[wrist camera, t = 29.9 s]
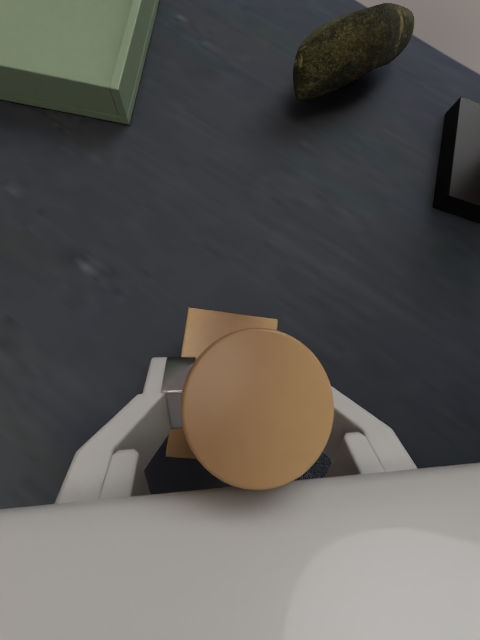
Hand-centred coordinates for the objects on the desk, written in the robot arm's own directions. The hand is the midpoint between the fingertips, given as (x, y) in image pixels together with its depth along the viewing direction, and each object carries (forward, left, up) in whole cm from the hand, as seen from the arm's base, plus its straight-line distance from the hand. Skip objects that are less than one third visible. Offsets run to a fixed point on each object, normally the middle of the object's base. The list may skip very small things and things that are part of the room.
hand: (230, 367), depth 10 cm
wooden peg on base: (0, +1, -7) cm, 7 cm away
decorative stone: (-7, -25, -8) cm, 28 cm away
